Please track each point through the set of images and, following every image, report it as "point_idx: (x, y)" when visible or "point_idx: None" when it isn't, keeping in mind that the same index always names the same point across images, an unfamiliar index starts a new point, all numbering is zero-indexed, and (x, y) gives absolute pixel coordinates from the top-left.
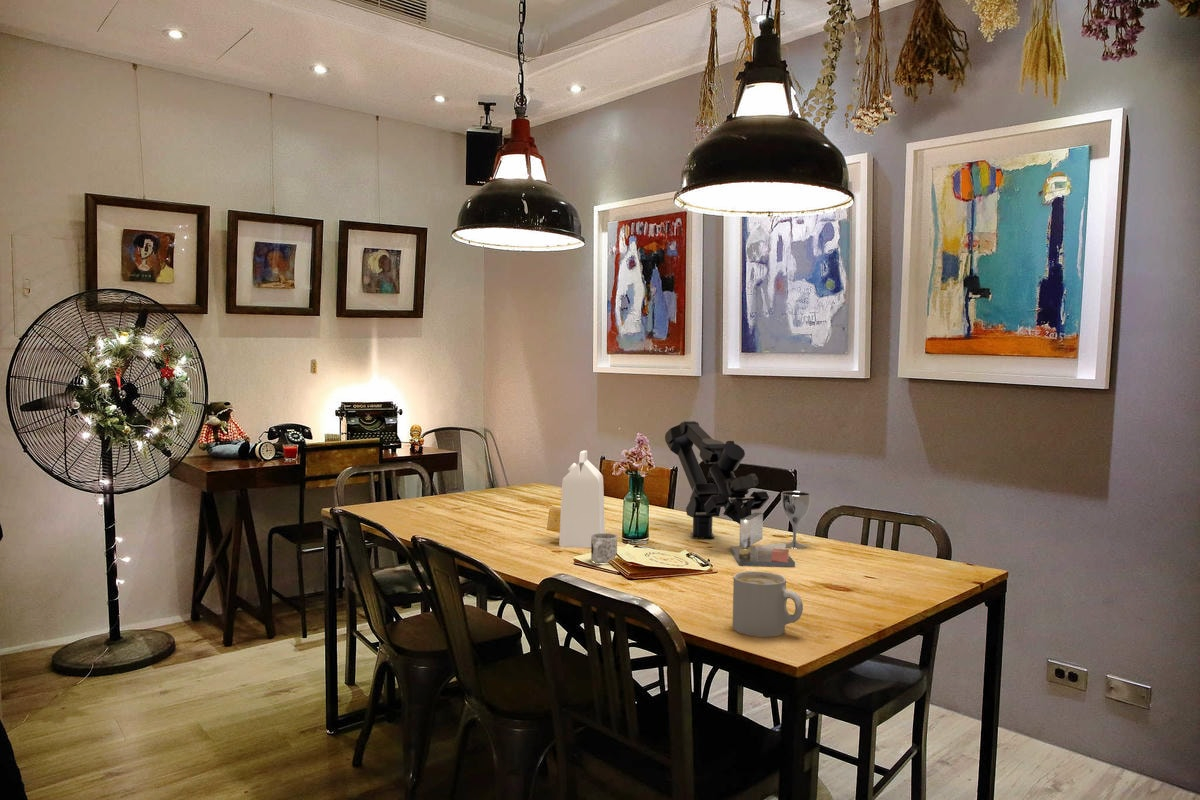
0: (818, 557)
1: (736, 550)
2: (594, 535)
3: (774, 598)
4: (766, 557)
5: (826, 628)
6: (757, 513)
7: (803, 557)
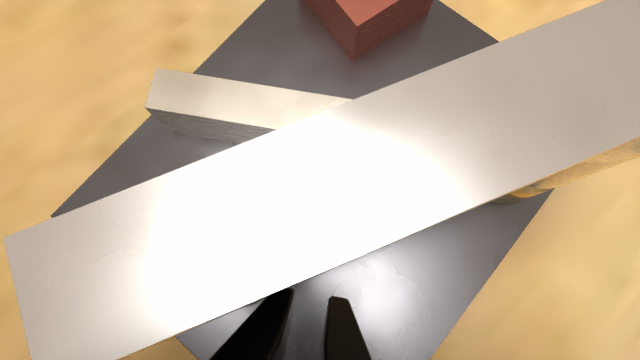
0: (44, 6)
1: (405, 345)
2: None
3: None
4: (384, 83)
5: None
6: (118, 282)
7: (108, 50)
